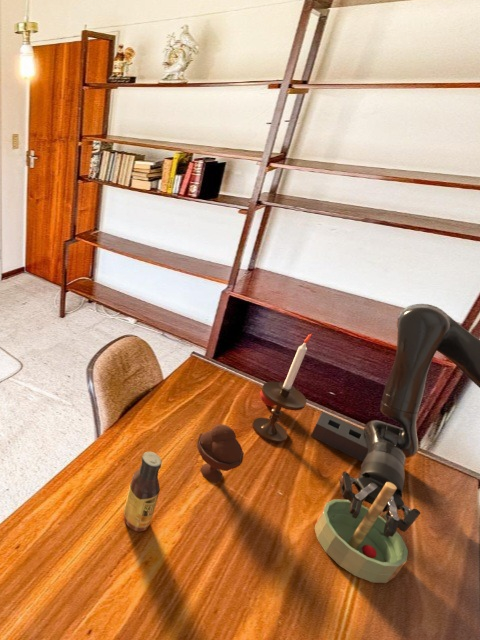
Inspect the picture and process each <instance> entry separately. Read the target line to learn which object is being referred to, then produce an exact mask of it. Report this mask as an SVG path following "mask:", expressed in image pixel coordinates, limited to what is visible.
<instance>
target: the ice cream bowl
mask: <svg viewBox="0 0 480 640" xmlns="http://www.w3.org/2000/svg"><path fill="white" fill-rule="evenodd" d="M236 438H237V436H236V433H235V431H234V429H232V428H231V427H230V426H229V425H226V424H216V425H214V426H213V427H212V428H211V429H210V430H207V431H205V432H202V433H199V436H198V438H197V441H196V448H197V451H198V453H199V455H200V457H201V459H202V460H203V461H204V462H205V464H204V463H203V464H201V466H200V470H199V471H200V473H201V475H202V477H204V478H205V479H206V480H208V481H209V482H213V483H219V482H221V481H222V480H223V473H222V471H224V472H228V471H230V470H231V471H232V470H234V469H236V468H238V467H240V466H241V465H242V463H243V461H244V455H245V453H244V451H243V448H242V446H241V444H240V443H239V440H237V439H236Z"/></svg>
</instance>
